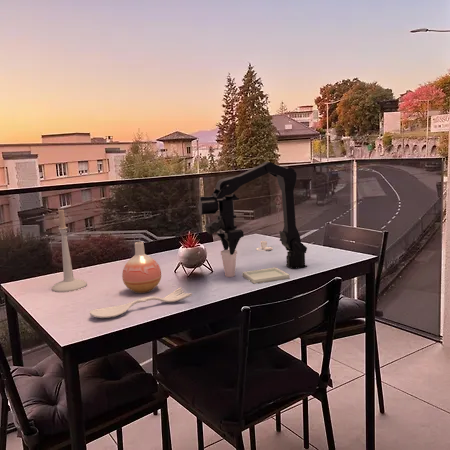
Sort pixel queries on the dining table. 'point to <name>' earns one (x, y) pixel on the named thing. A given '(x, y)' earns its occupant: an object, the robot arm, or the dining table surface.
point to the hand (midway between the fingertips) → (228, 252)
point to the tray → (265, 275)
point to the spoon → (121, 309)
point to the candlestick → (66, 263)
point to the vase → (141, 271)
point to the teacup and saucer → (264, 246)
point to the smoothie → (229, 262)
